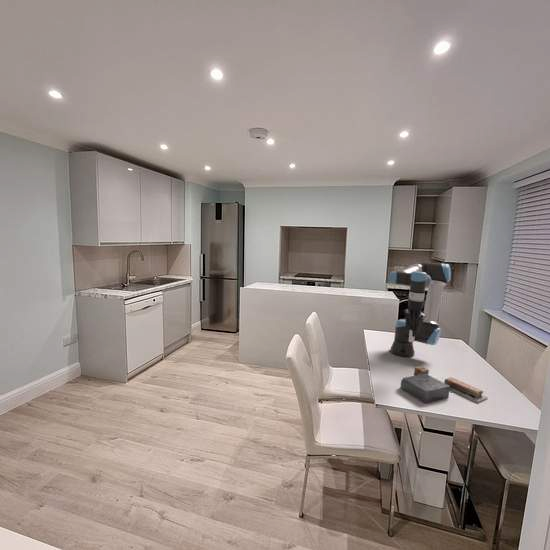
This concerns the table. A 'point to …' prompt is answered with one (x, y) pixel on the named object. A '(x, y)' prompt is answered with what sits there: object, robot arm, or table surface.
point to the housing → (425, 388)
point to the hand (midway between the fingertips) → (411, 341)
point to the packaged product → (465, 390)
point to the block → (420, 371)
